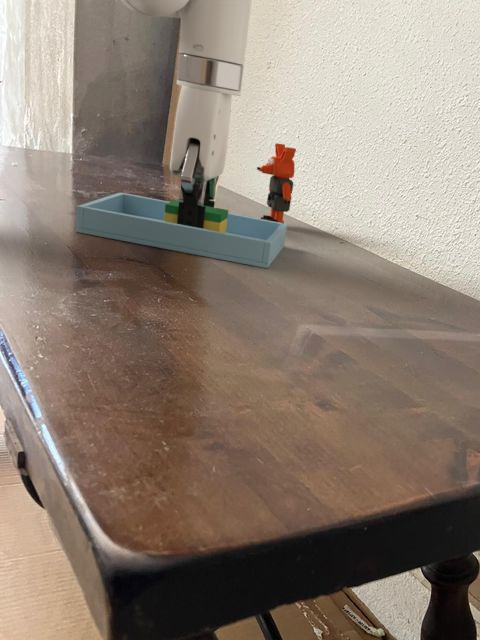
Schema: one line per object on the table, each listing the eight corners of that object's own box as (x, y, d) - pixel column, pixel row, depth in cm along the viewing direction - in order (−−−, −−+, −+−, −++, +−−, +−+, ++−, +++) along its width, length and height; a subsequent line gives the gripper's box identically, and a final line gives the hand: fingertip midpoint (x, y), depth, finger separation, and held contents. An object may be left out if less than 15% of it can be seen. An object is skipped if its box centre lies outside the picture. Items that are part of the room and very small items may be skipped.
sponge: (162, 236, 93) (165, 204, 91) (172, 231, 97) (174, 199, 95) (217, 247, 93) (221, 214, 91) (224, 241, 97) (228, 210, 95)
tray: (75, 232, 90) (76, 205, 89) (118, 215, 104) (120, 192, 103) (267, 268, 90) (271, 242, 88) (284, 246, 104) (287, 224, 103)
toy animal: (243, 217, 120) (253, 138, 115) (274, 220, 122) (285, 144, 117) (258, 228, 113) (269, 145, 109) (291, 231, 116) (303, 150, 111)
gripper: (195, 74, 95) (182, 219, 102) (158, 68, 79) (145, 239, 87) (253, 85, 95) (235, 229, 102) (227, 80, 79) (208, 251, 87)
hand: (194, 232), depth 94 cm, fingers closed on sponge, 4 cm apart
